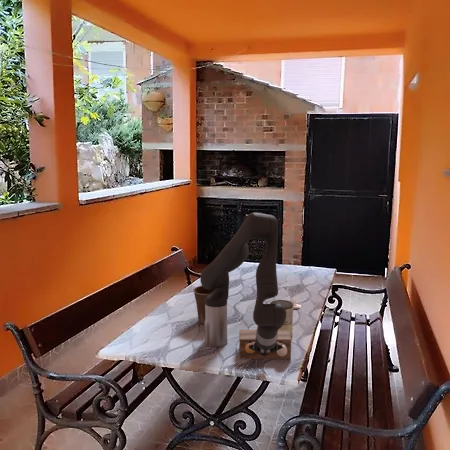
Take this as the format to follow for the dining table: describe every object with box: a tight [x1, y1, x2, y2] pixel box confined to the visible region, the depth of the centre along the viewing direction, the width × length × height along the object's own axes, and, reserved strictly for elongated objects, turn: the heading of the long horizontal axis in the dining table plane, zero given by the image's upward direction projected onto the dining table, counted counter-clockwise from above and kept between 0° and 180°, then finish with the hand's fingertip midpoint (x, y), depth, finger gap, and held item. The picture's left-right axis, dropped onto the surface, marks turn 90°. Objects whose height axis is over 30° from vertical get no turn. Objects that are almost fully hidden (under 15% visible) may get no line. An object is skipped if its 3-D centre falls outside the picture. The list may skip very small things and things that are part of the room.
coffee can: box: [269, 299, 294, 337], centre depth 214 cm, size 10×10×14 cm
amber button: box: [245, 342, 255, 354], centre depth 191 cm, size 6×4×4 cm, turn 0°
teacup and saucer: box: [289, 298, 302, 310], centre depth 252 cm, size 9×8×4 cm
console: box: [238, 329, 292, 360], centre depth 194 cm, size 10×20×8 cm, turn 90°
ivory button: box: [277, 342, 287, 356], centre depth 188 cm, size 6×4×4 cm, turn 0°
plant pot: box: [192, 285, 215, 326], centre depth 229 cm, size 16×16×16 cm
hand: (264, 353), depth 182 cm, fingers closed
